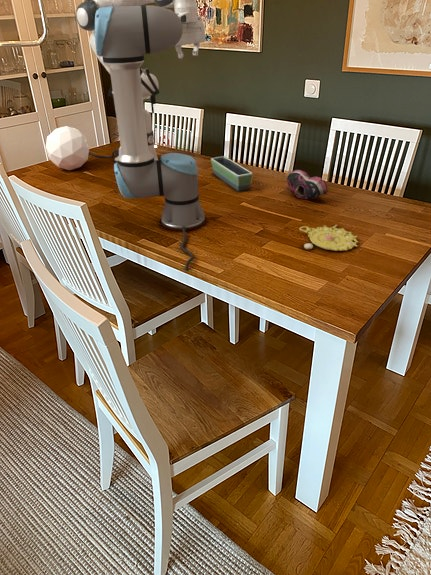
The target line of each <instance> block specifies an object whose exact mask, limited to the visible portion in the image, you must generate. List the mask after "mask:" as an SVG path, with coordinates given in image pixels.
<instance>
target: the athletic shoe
mask: <svg viewBox="0 0 431 575" xmlns="http://www.w3.org/2000/svg"><path fill="white" fill-rule="evenodd" d="M286 184H287V186H288V187H285V186H284V189H286V190H290V191H291V193H292V194H293V195H295V196H296V198H298V199H300V200H306V201H310V200H313V199H316V198H318V197H321V196H324V195H328V185H327V183H326V181H325V180H324V179H323V178H322V177H320V176H312V177H311V176H309V174H308V172H306V171H305V170H302V169H294V170H293V171H291V172H290V173H289V174H288V175H287V177H286Z"/></svg>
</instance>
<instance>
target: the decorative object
mask: <svg viewBox="0 0 431 575" xmlns="http://www.w3.org/2000/svg"><path fill="white" fill-rule="evenodd" d="M303 228H304V229H305V230H304V229H303ZM299 231H300V232H303V233H305V234H307V237H308V238H309V240H310V241H311V243H304V244H303V248H304V249H305V250H313V249H314V245H315V246H316V247H318V248H321V249H324V250H328V251H335V252H341V251H348V250H352V249H354V247H356V248H358V247H359V245H358V244H357V243H359V240H357V238H359V237H358V235H353V234H352V231H347V230H346V229H345V228H344V227H342V228H338V224H335V225H333V226H331V227H328V226H327V225H326V224H325V225H323V226H322V227H321V226H317V227H316V228H314V227H309V226H308V225H302V226H300V227H299ZM313 244H314V245H313Z"/></svg>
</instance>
